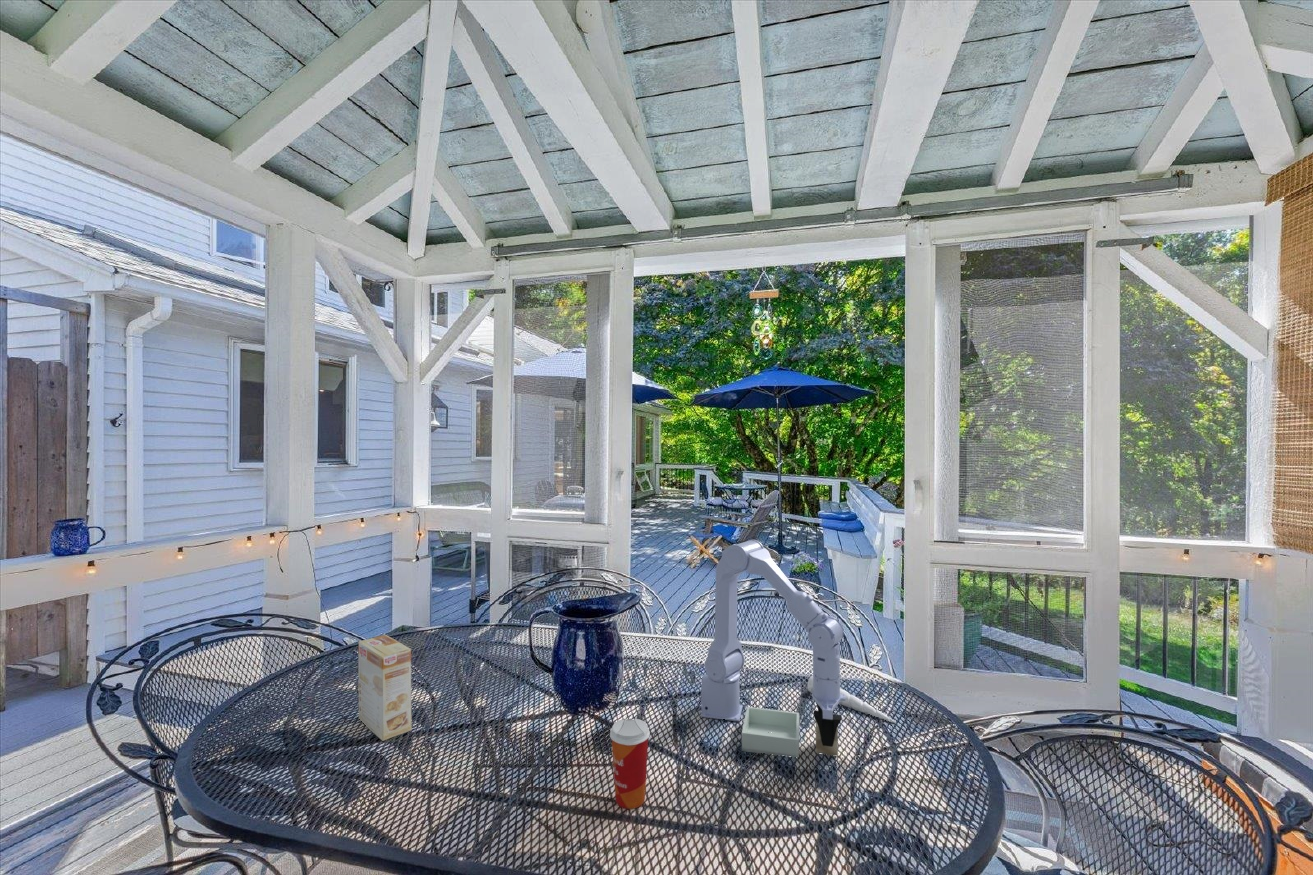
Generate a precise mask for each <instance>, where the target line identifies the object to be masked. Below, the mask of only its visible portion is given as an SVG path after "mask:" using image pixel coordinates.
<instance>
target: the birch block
mask: <svg viewBox="0 0 1313 875" xmlns="http://www.w3.org/2000/svg"><path fill="white" fill-rule="evenodd" d="M838 727H839V726H838ZM838 727H837V730H836V733H835V739H834V743H833V747H830V746H823V745H822V741H821V736H820V730H819V727H818V724H817V722H816V721H815V753H816V752H817V753H823V754H827V755H826V756H828V755H838V756H839V751H838V750H839V747H838V746H839V742H838V741H839V740H838V738H839V732H838V731H839V729H838Z"/></svg>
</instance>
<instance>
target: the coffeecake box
mask: <svg viewBox="0 0 1313 875" xmlns="http://www.w3.org/2000/svg"><path fill="white" fill-rule="evenodd" d="M357 644H358V646H357V647H358V649H357V650H358V651H357V653H358V657H357V658H358V660H357V661H358V720H359V719H360V720H361V721H362V722H363V723H364V724H365V725H366V728H367V729H369V730H370V732H372V733H373V734H374V735H375V736H376V737H377V738H378V739H380V740H381V741H382V742H384V741H387V740H389V739H391V738H395V737H398V736H401V735H402V734H405V733H408V732H410V731H412V730H413V729H412V648H410V647H409V646H406V645H404V644H403V643H402V642H400V641H398V640H396V639H394V638H392V637H390V636H389V635H387V634H383V635H380V636H374V637H372V638H368V639H367V638H366V639H363V640H359V641H358V642H357ZM360 720H359V721H360ZM361 721H360V722H361ZM362 722H361V723H362ZM363 723H362V724H363ZM365 725H364V726H365Z"/></svg>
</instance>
